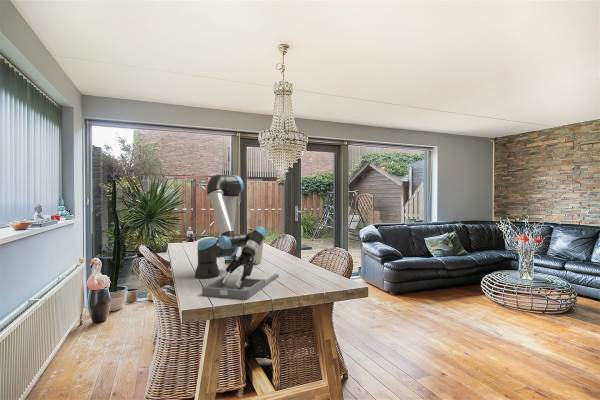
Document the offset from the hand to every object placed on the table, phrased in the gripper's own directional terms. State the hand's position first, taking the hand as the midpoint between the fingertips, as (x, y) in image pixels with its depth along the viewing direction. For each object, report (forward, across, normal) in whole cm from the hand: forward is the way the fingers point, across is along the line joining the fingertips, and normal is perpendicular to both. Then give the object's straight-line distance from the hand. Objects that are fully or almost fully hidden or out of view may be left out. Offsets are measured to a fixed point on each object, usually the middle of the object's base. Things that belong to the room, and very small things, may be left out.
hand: (230, 284), depth 171 cm
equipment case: (-7, +3, -13) cm, 15 cm away
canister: (-42, +37, -47) cm, 73 cm away
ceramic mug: (+2, 0, -4) cm, 5 cm away
